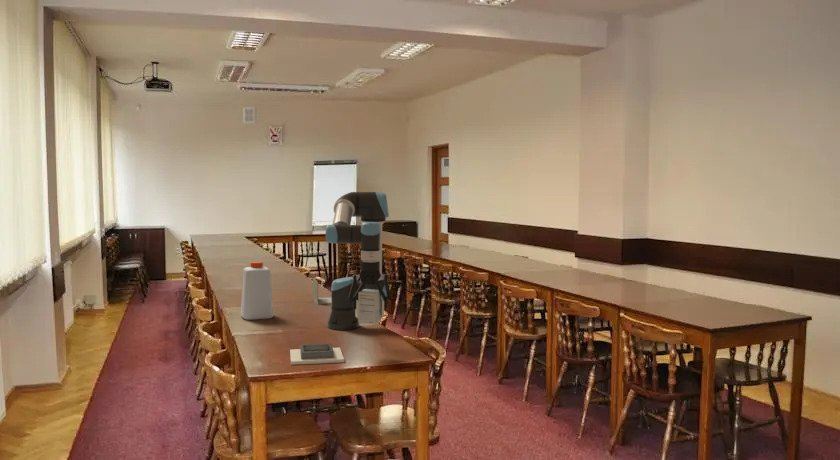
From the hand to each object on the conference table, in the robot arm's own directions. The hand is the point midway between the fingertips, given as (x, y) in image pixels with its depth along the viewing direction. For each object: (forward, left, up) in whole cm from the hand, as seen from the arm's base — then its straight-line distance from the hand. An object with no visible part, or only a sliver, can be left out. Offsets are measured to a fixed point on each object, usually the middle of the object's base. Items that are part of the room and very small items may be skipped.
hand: (369, 316), depth 259 cm
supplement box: (0, 0, -2) cm, 2 cm away
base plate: (0, -21, -16) cm, 26 cm away
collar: (0, -21, -14) cm, 26 cm away
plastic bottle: (-82, -46, -16) cm, 95 cm away
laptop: (-122, -8, -16) cm, 123 cm away
